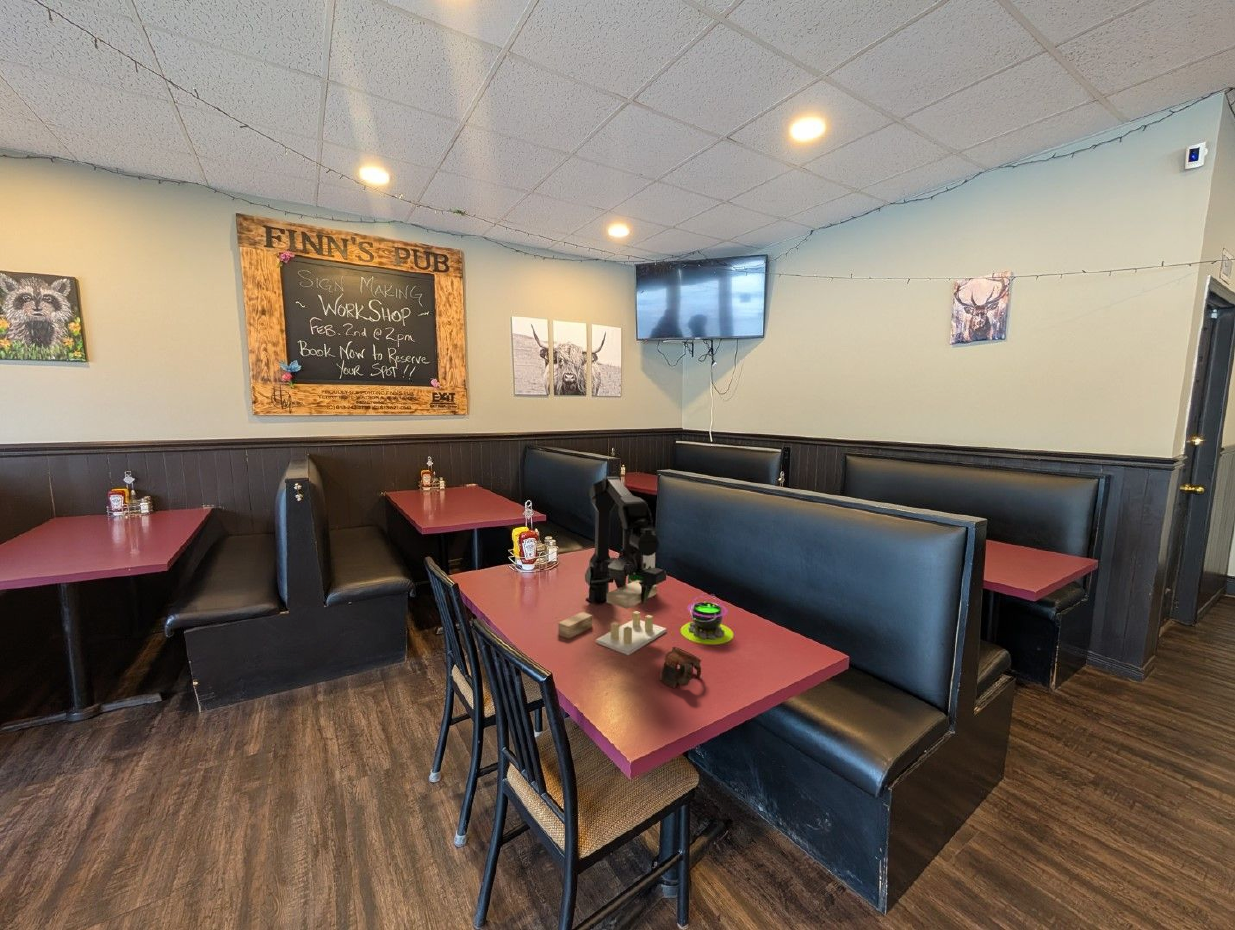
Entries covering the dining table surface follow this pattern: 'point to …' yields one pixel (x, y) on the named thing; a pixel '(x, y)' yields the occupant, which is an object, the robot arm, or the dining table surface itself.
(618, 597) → the board
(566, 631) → the block
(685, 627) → the toy cauldron
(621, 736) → the dining table surface
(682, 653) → the pottery mug
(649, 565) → the milk carton
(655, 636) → the peg frame
